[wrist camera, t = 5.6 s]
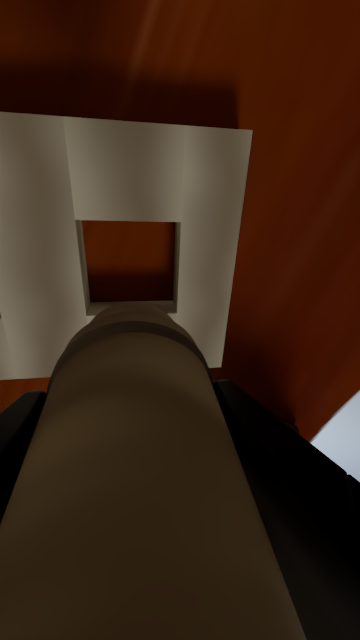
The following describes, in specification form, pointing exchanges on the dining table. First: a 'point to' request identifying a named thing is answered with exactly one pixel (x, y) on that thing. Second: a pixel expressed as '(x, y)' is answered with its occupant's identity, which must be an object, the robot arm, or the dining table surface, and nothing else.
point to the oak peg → (136, 501)
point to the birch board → (111, 205)
